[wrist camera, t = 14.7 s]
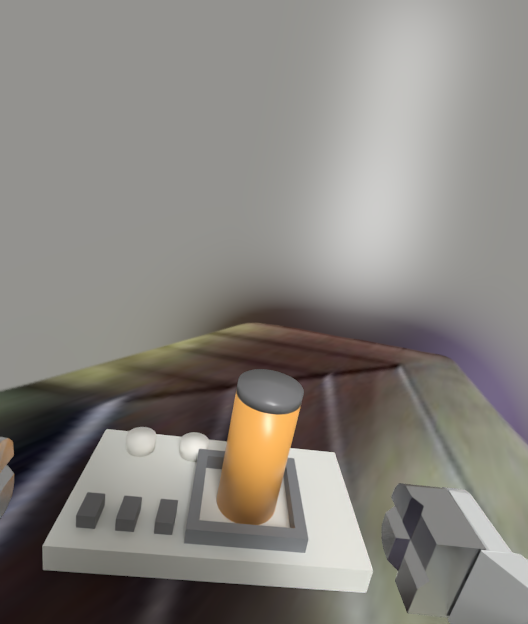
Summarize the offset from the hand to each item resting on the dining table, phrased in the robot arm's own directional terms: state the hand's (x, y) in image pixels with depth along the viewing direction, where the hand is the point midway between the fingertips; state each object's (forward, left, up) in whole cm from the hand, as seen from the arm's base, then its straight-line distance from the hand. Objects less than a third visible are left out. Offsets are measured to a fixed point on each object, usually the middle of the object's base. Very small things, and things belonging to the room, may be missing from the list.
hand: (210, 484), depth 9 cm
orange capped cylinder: (+3, +17, -17) cm, 24 cm away
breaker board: (+1, +18, -19) cm, 26 cm away
